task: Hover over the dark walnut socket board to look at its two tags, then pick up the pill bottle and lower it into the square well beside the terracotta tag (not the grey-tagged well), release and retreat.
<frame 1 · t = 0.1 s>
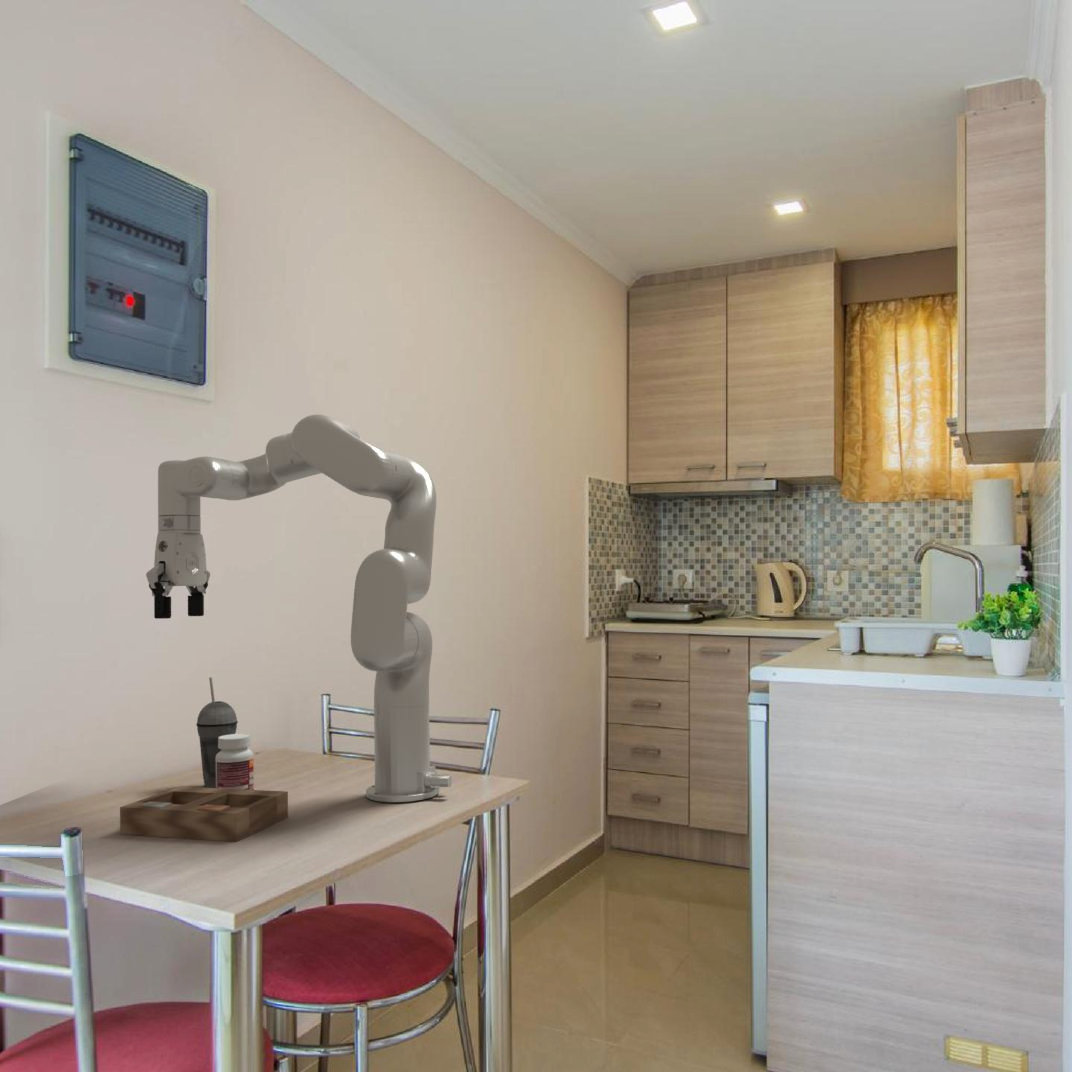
hand: (179, 617, 174), 31 cm above the table, fingers open, 9 cm apart
pill bottle: (234, 804, 157), on the table
socket board: (206, 825, 142), on the table
beverage cup: (217, 787, 170), on the table
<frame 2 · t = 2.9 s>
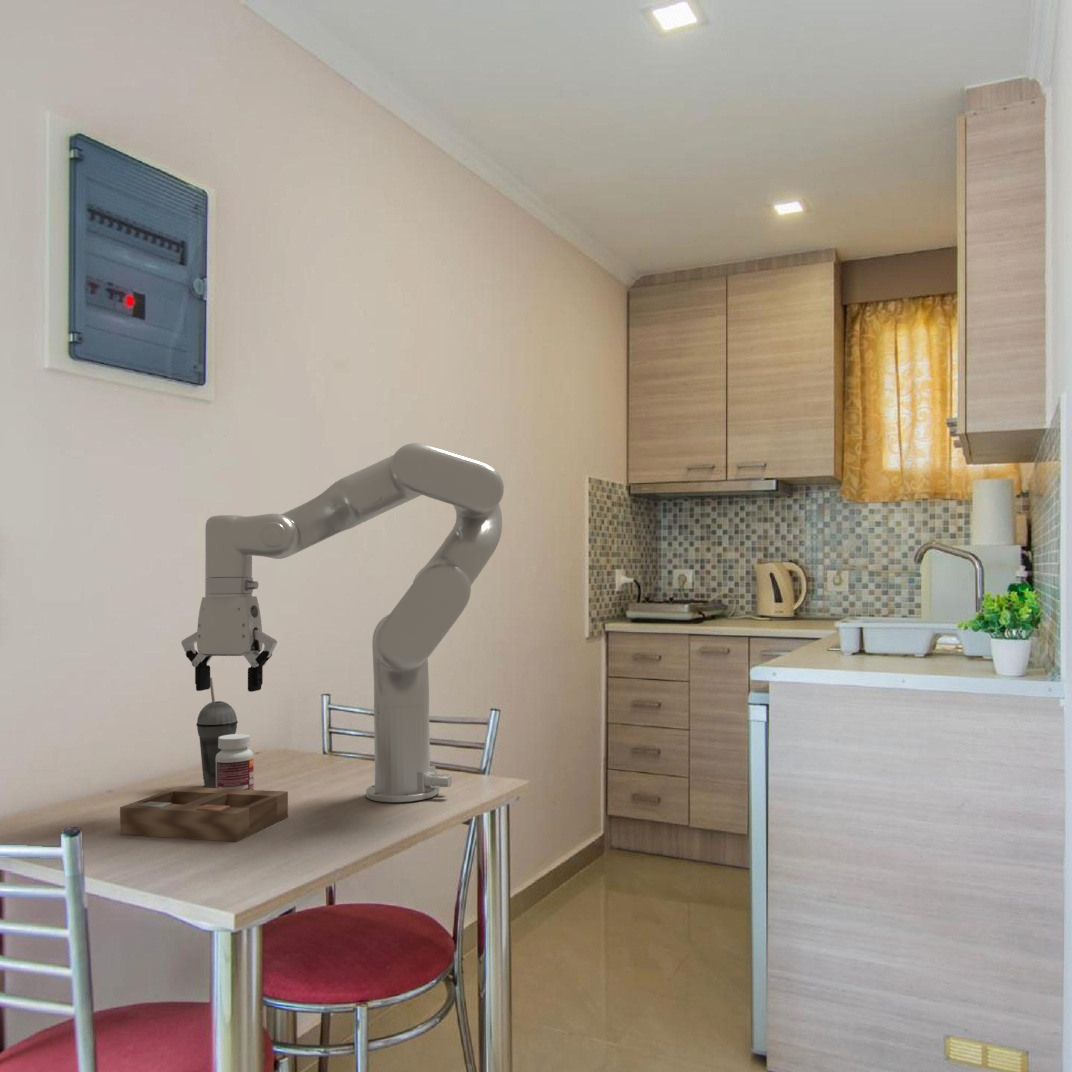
hand: (228, 690, 155), 19 cm above the table, fingers open, 9 cm apart
nothing on the table moved.
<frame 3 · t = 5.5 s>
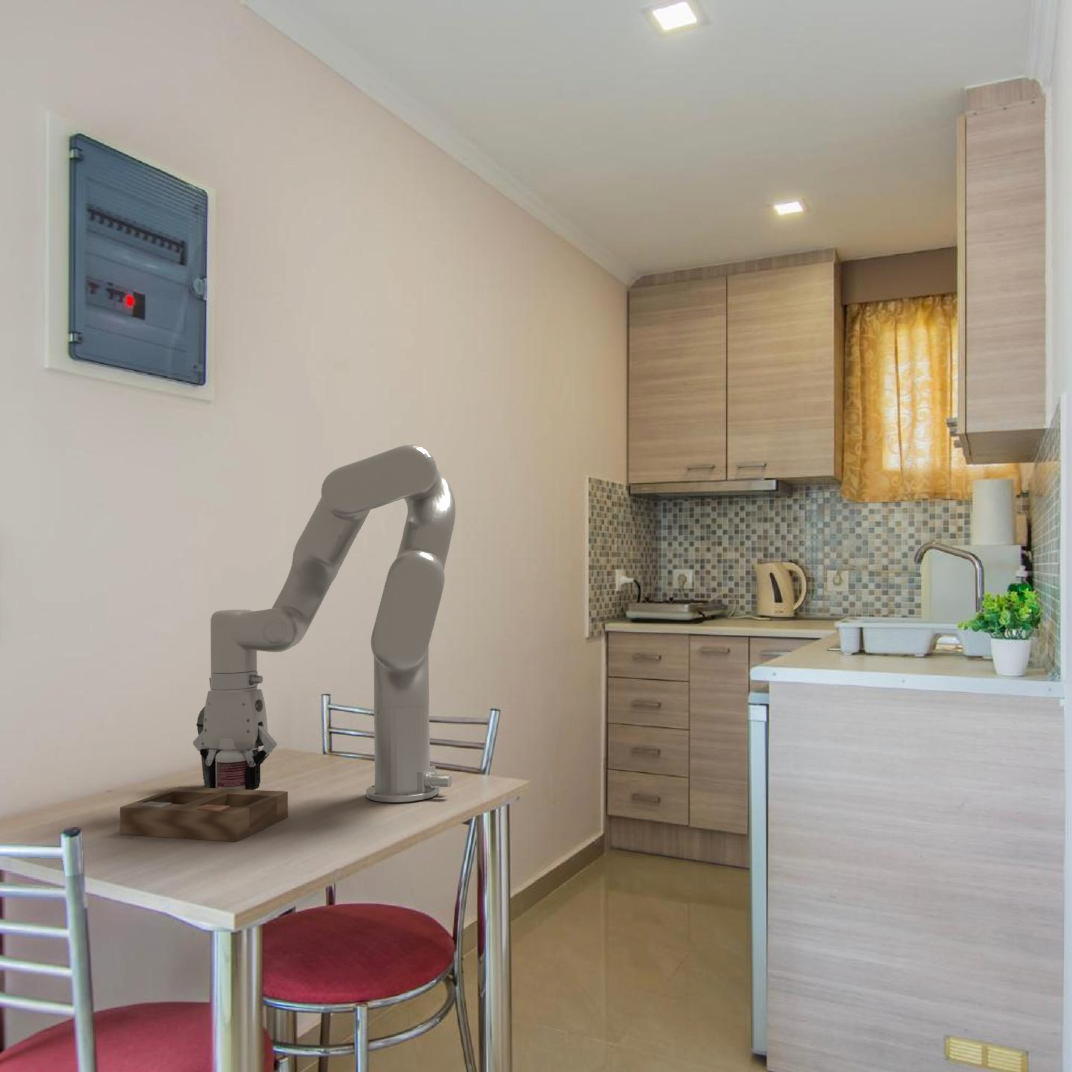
hand: (234, 787, 157), 3 cm above the table, fingers closed on pill bottle, 6 cm apart
pill bottle: (234, 804, 157), on the table, touching gripper
everything else where it was.
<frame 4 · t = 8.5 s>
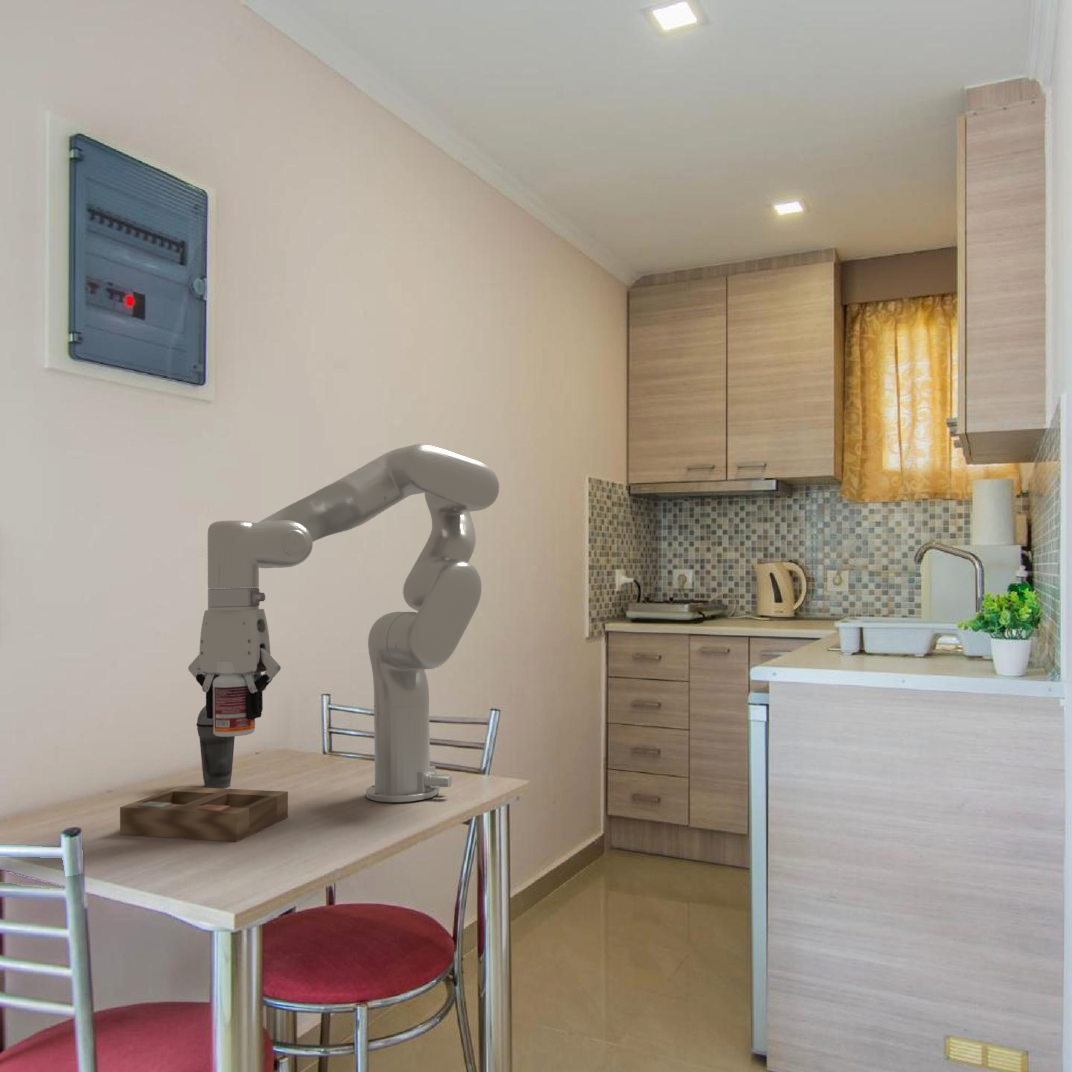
hand: (234, 716, 142), 17 cm above the table, fingers closed on pill bottle, 6 cm apart
pill bottle: (234, 735, 142), point 14 cm above the table, touching gripper
everything else where it was.
when the fingers open (5 cm above the table, at t = 11.4 s): pill bottle drops 2 cm, resting in socket board.
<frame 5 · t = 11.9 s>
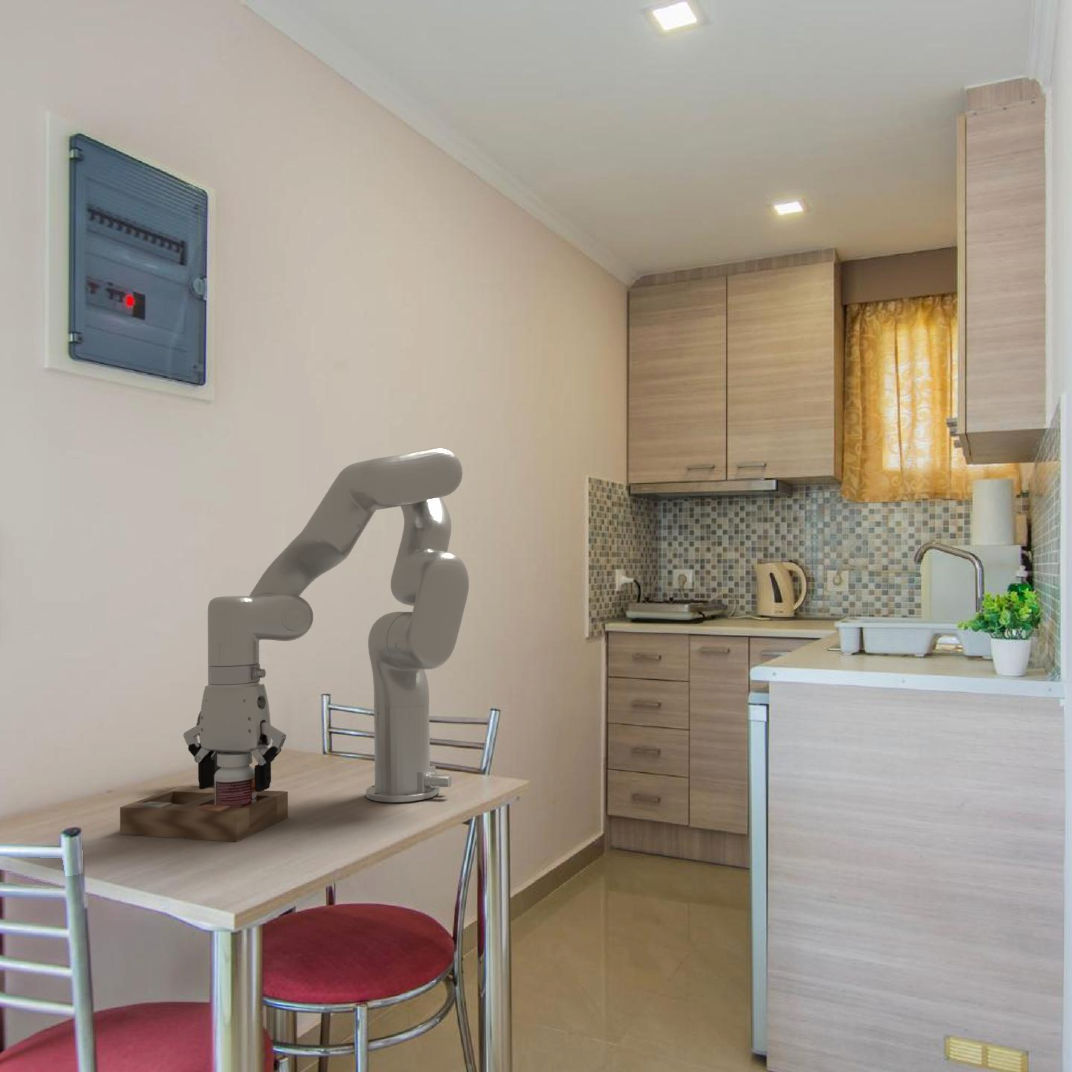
hand: (234, 788, 141), 6 cm above the table, fingers open, 9 cm apart
pill bottle: (235, 828, 141), resting in socket board
everything else where it was.
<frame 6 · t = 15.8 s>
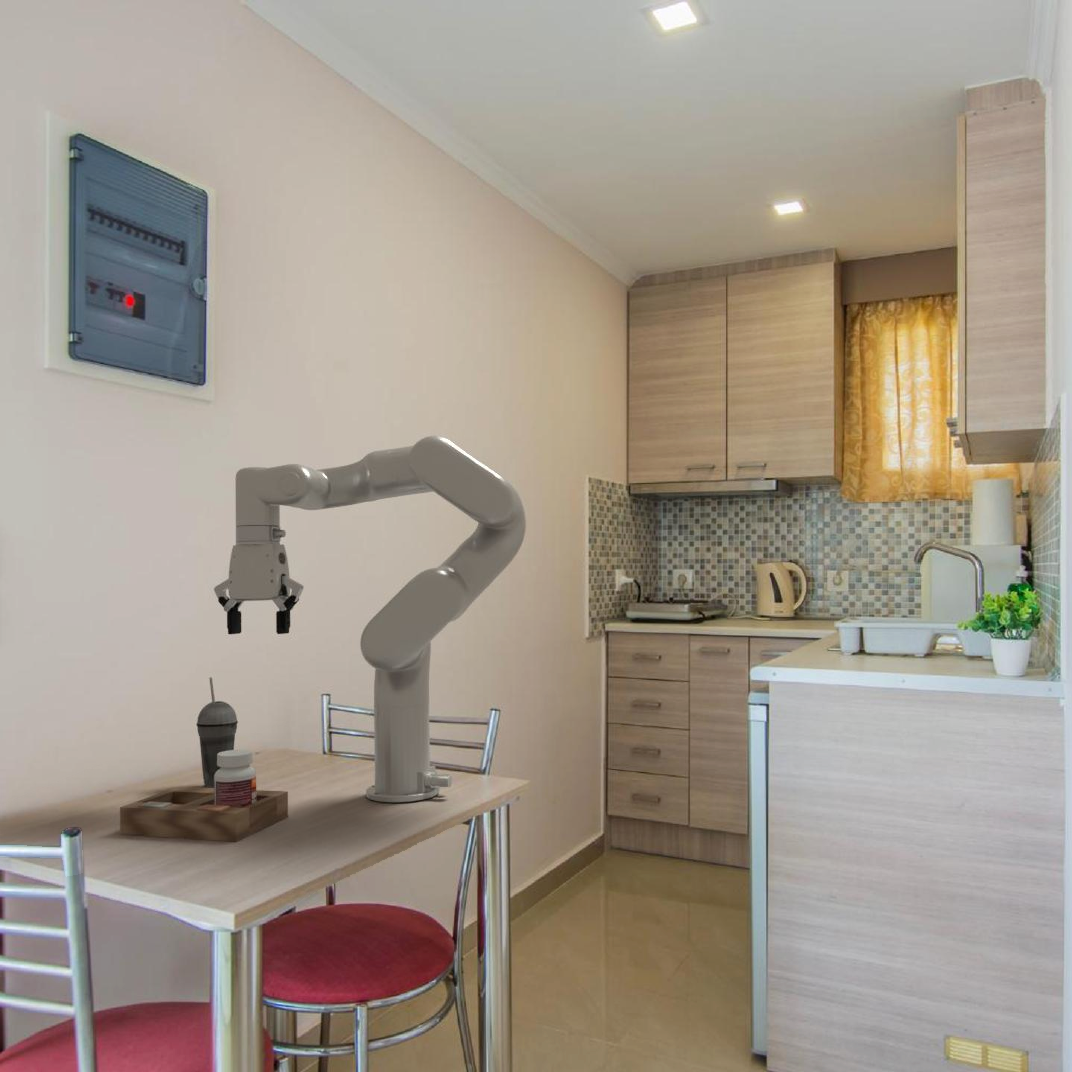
hand: (258, 633, 163), 28 cm above the table, fingers open, 9 cm apart
nothing on the table moved.
at the end: pill bottle 0.1 cm from the target spot on the socket board, point 0.0 cm above the socket board's base; pill bottle tilted 0°; the gripper is holding nothing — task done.
